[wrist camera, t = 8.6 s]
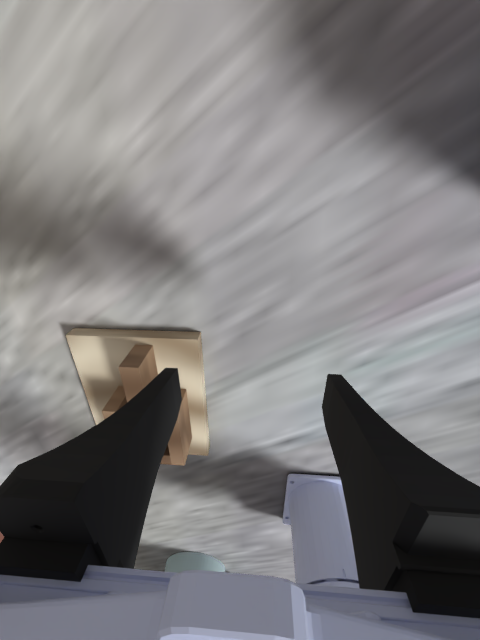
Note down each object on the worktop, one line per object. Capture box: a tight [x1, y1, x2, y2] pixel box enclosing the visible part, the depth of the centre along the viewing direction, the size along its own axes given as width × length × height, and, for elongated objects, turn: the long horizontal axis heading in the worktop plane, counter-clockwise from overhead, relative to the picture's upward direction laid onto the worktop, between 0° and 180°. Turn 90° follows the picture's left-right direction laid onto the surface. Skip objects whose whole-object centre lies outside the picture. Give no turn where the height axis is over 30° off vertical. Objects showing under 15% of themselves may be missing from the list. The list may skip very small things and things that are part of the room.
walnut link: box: [102, 345, 192, 465], centre depth 24 cm, size 11×6×3 cm, turn 0°
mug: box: [164, 552, 225, 573], centre depth 39 cm, size 14×9×10 cm
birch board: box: [66, 328, 210, 456], centre depth 26 cm, size 14×11×1 cm
